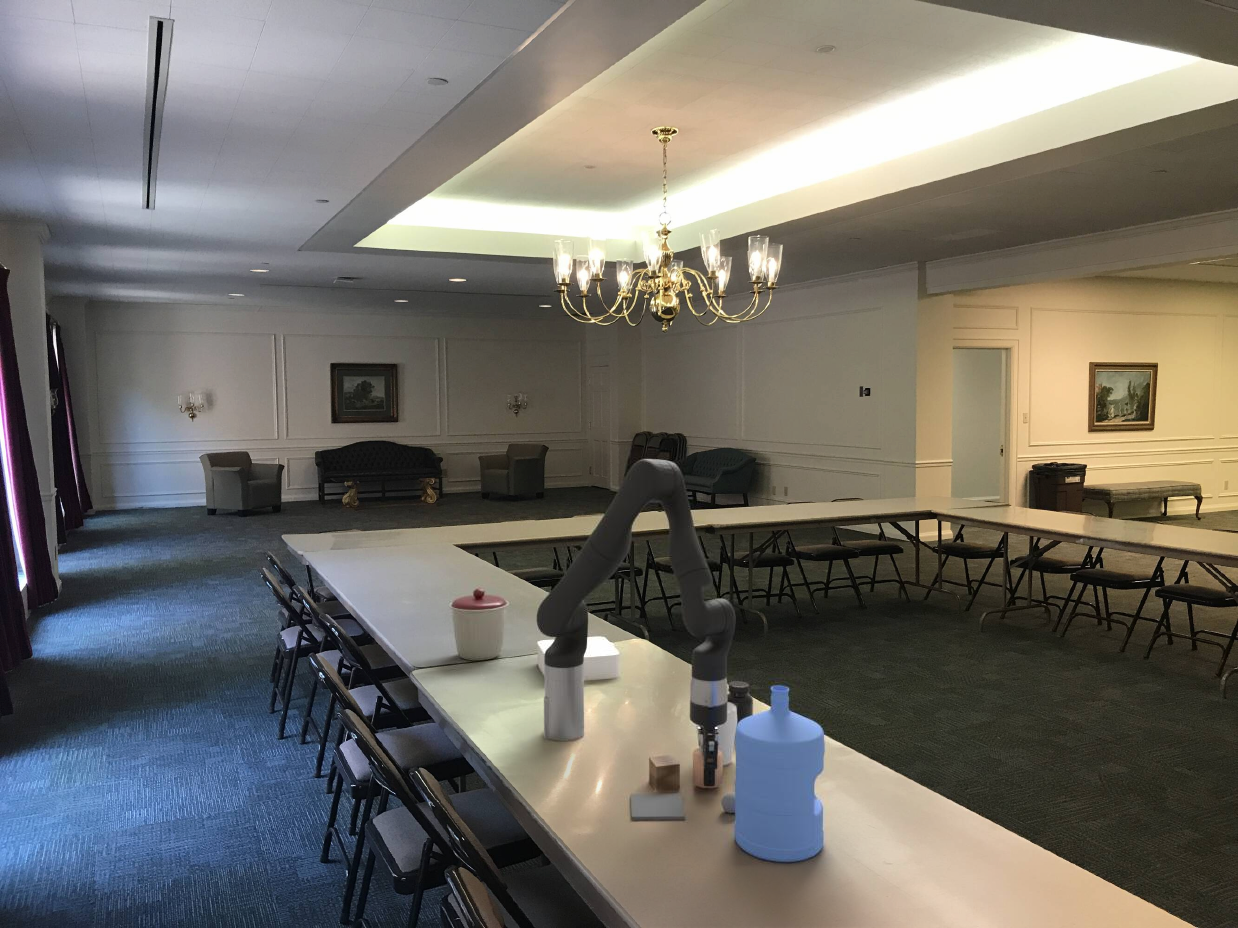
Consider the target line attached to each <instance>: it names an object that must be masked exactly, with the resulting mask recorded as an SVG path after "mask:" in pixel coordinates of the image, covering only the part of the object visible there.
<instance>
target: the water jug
mask: <svg viewBox="0 0 1238 928" xmlns="http://www.w3.org/2000/svg"><path fill="white" fill-rule="evenodd" d="M770 691H771V696H770V705H771V706H770V709H768V710H764V711H762V712H758V713H754V714H753V715H752V716H749V717H746V718H744V719H742V720H741V721H740V722H739V723H738V724H737V726H736V735H735V740H734V747H735V748H734V749H735V779H734V794H735V796H736V805H735V812H734V815H735V819H734V821H735V823H734V839H735V841H736V843H737V845H738V846H739V848H741V849H742V850H743V851H744V852H746V853H748V854H750V855H751V856H753V857H755V858H758V859H762V860H765V861H770V862H777V863H795V862H800V861H801V862H802V861H805V860H807V859H810V858H812V857H814V856H816V855H817V854H818V853H819V852H820V851H821V850H822V848H823V846H824V834H825V833H824V832H825V831H824V807H823V803H822V801H821V799H820V798H818V797H817V796H816V794H815V783H816V779H817V778H818V776H820V775H821V774H822V773H823V771H824V767H825V765H824V764H825V763H824V762H825V761H824V759H825V758H824V757H825V752H826V751H825V750H826V742H825V731H824V730H823V728H822V727H821V725H820V724H818V722H816V721H814V720H812V719H811V718H807V717H805V716H802V715H800V714H799V713H796V712H793V711H791V710H790V708H789V702H790V697H789V691H790V688H789V687H787V686H786V685H772V686H771V687H770Z"/></svg>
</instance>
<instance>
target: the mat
mask: <svg viewBox="0 0 1238 928" xmlns="http://www.w3.org/2000/svg"><path fill="white" fill-rule="evenodd" d="M630 808H631V809H630V811H631V820H632V821H635V820H636V821H640V820H641V821H645V820H647V821H648V820H649V821H650V820H655V821H656V820H658V821H659V820H660V821H661V820H662V821H663V820H664V821H666V820H667V821H668V820H669V821H670V820H671V821H672V820H681V821H682V820H685V819H686V814H685V808H684V804H683V797H682V793H680V792H679V793H630Z"/></svg>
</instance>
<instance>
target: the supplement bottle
mask: <svg viewBox="0 0 1238 928" xmlns="http://www.w3.org/2000/svg"><path fill="white" fill-rule="evenodd" d="M727 689H728V692H727V702H730V703H732V704H734V705H735V706H736V709H737V724H738V723H739V722H740V721H741V720H742V719H744V718H746V717H749V716H752V715H754V713H753V712H754V698H753V697H752V696H751V694H749V693H750V684H749V683H748V682H745V681H741V680H740V681H739V680H738V681H737V680H735V681H734V680H733V681H731V682H728V687H727ZM735 735H736V733H735Z"/></svg>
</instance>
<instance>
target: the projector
mask: <svg viewBox="0 0 1238 928" xmlns="http://www.w3.org/2000/svg"><path fill="white" fill-rule="evenodd" d="M554 640H555V639H544V640H539V641H537V642H536V643H537V666H538V668H539V669H540V672H541V673H542V674H543V676H544V678H545V663H544V655H545V651H546V650H547V649H548V648H549V647H550V646H551V645H552V643H553V642H554ZM619 677H620V652H619V651H618V649H617V648H616V647H615V646H614V643H613V642H610V641H609V640H608V639H607V638H606V637H605V636H588V638H587V649H586V652H585V654H584V682H586V681H592V680H593V681H595V680H596V681H597V680H606V679H607V680H608V679H616V678H619Z"/></svg>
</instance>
